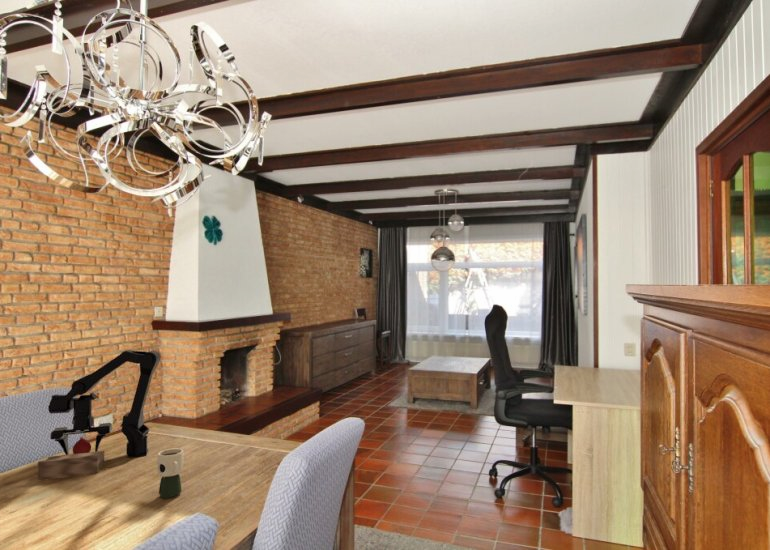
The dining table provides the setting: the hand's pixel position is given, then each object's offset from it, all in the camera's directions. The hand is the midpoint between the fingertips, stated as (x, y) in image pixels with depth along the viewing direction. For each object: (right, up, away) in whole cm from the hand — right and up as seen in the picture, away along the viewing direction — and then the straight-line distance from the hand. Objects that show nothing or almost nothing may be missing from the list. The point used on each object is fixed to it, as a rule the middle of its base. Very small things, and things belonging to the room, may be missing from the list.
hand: (81, 454), depth 175 cm
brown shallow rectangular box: (+5, -1, -12) cm, 13 cm away
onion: (0, -2, 0) cm, 2 cm away
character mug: (+48, 0, -33) cm, 58 cm away
